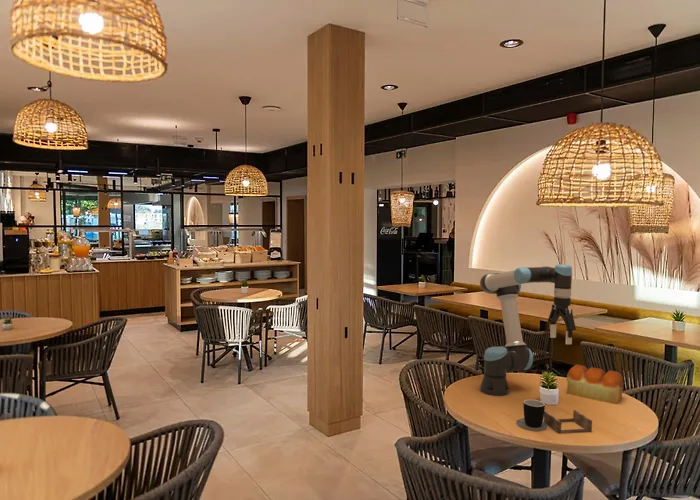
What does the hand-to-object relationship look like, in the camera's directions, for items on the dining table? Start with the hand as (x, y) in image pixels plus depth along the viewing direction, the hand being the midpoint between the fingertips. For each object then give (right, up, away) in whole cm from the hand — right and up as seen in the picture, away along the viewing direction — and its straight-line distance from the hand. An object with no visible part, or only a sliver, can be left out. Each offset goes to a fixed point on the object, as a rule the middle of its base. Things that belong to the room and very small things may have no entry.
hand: (560, 340), depth 249 cm
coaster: (-19, -35, -15) cm, 43 cm away
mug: (-19, -35, -15) cm, 43 cm away
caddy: (-4, -36, -17) cm, 40 cm away
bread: (+28, -34, +26) cm, 51 cm away
